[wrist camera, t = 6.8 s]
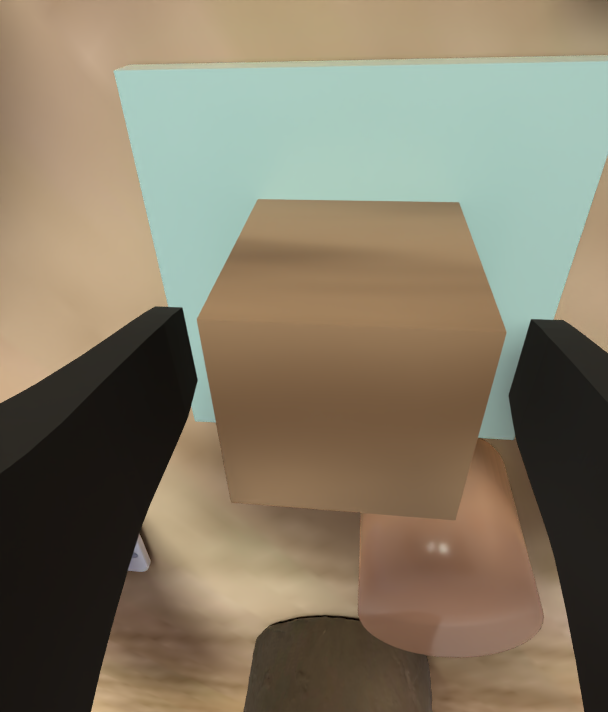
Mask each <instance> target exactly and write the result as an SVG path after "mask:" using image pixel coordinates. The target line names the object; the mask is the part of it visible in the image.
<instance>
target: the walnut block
mask: <svg viewBox="0 0 608 712" xmlns="http://www.w3.org/2000/svg"><path fill="white" fill-rule="evenodd" d="M197 325H198V330H199V335H200V340H201V346H202V351H203V356H204V362H205V367H206V372H207V378H208V383H209V388H210V394H211V399H212V404H213V409H214V415H215V420H216V425H217V431H218V436H219V441H220V447H221V452H222V457H223V463H224V468H225V473H226V478H227V484H228V489H229V494H230V500H231V502H232V503H244V504H257V505H269V506H282V507H294V508H307V509H319V510H332V511H344V512H357V513H369V514H382V515H394V516H407V517H419V518H432V519H444V520H456V516H457V513H458V509H459V505H460V502H461V498H462V494H463V491H464V487H465V483H466V480H467V476H468V472H469V469H470V465H471V461H472V458H473V454H474V450H475V447H476V443H477V439H478V436H479V432H480V428H481V425H482V421H483V417H484V414H485V410H486V406H487V403H488V399H489V395H490V392H491V388H492V384H493V381H494V377H495V373H496V370H497V366H498V363H499V359H500V355H501V352H502V348H503V344H504V341H505V337H506V333H507V332H506V329H505V326H504V323H503V321H502V318H501V315H500V312H499V310H498V307H497V304H496V302H495V299H494V296H493V293H492V291H491V288H490V285H489V282H488V280H487V277H486V274H485V272H484V269H483V266H482V263H481V261H480V258H479V255H478V252H477V250H476V247H475V244H474V242H473V239H472V236H471V233H470V231H469V228H468V225H467V222H466V220H465V217H464V214H463V212H462V209H461V206H460V203H459V202H413V201H349V200H284V199H258V200H257V202H256V204H255V205H254V207H253V209H252V211H251V213H250V215H249V217H248V219H247V221H246V223H245V225H244V227H243V229H242V231H241V233H240V235H239V237H238V239H237V241H236V243H235V245H234V247H233V249H232V251H231V253H230V255H229V257H228V259H227V261H226V262H225V264H224V266H223V268H222V270H221V272H220V274H219V276H218V278H217V280H216V282H215V284H214V286H213V288H212V290H211V292H210V294H209V296H208V298H207V300H206V302H205V304H204V306H203V308H202V310H201V312H200V314H199V316H198V318H197Z"/></svg>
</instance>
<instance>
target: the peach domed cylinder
mask: <svg viewBox="0 0 608 712" xmlns="http://www.w3.org/2000/svg"><path fill="white" fill-rule="evenodd" d="M358 616H359V619H360V621H361V623H362V625H363V626H364V627H365V628H366V630H367V631H368V632H370V633H371V634H372V635H373V636H375V637H376V638H378V639H379V640H381V641H383V642H385V643H387V644H389V645H391V646H394V647H396V648H399V649H402V650H406V651H409V652H413V653H418V654H423V655H429V656H437V657H476V656H484V655H490V654H495V653H500V652H503V651H506V650H510V649H512V648H515V647H517V646H519V645H521V644H523V643H525V642H527V641H528V640H530V639H531V638H532V637H533V636H534V635H536V634H537V632H538V631H539V630H540V628H541V626H542V624H543V619H544V615H543V610H542V606H541V602H540V598H539V594H538V591H537V587H536V583H535V579H534V575H533V572H532V568H531V564H530V560H529V556H528V553H527V549H526V545H525V541H524V537H523V533H522V530H521V526H520V522H519V518H518V514H517V511H516V507H515V503H514V499H513V495H512V492H511V488H510V484H509V480H508V476H507V473H506V469H505V465H504V462H503V460H502V457H501V456H500V454H499V453H498V451H497V450H496V449H495V448H494V447H493V446H492V445H490V444H489V443H488V442H486V441H485V440H483V439H481V438H478V439H477V443H476V447H475V450H474V454H473V458H472V461H471V465H470V469H469V472H468V476H467V480H466V483H465V487H464V491H463V494H462V498H461V502H460V505H459V509H458V513H457V516H456V520H444V519H432V518H419V517H407V516H394V515H382V514H369V513H361V514H360V552H359V590H358Z"/></svg>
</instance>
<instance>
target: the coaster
mask: <svg viewBox="0 0 608 712" xmlns="http://www.w3.org/2000/svg"><path fill="white" fill-rule="evenodd" d="M114 74H115V79H116V83H117V87H118V91H119V96H120V100H121V104H122V109H123V113H124V117H125V122H126V126H127V130H128V135H129V139H130V143H131V148H132V152H133V156H134V160H135V165H136V169H137V173H138V178H139V182H140V186H141V191H142V195H143V199H144V204H145V208H146V212H147V216H148V221H149V225H150V229H151V234H152V238H153V242H154V247H155V251H156V255H157V260H158V264H159V268H160V273H161V277H162V281H163V285H164V290H165V294H166V298H167V303H168V307H182V308H183V312H184V317H185V322H186V327H187V331H188V336H189V341H190V346H191V350H192V355H193V360H194V364H195V369H196V374H197V379H198V382H197V386H196V389H195V393H194V397H193V401H192V404H191V406H192V410H193V415H194V419H195V421H201V422H216V420H215V415H214V409H213V404H212V399H211V394H210V388H209V383H208V378H207V372H206V367H205V362H204V356H203V351H202V346H201V340H200V335H199V330H198V325H197V318H198V316H199V314H200V312H201V310H202V308H203V306H204V304H205V302H206V300H207V298H208V296H209V294H210V292H211V290H212V288H213V286H214V284H215V282H216V280H217V278H218V276H219V274H220V272H221V270H222V268H223V266H224V264H225V262H226V261H227V259H228V257H229V255H230V253H231V251H232V249H233V247H234V245H235V243H236V241H237V239H238V237H239V235H240V233H241V231H242V229H243V227H244V225H245V223H246V221H247V219H248V217H249V215H250V213H251V211H252V209H253V207H254V205H255V204H256V202H257V200H258V199H284V200H349V201H413V202H459V203H460V206H461V209H462V212H463V214H464V217H465V220H466V222H467V225H468V228H469V231H470V233H471V236H472V239H473V242H474V244H475V247H476V250H477V252H478V255H479V258H480V261H481V263H482V266H483V269H484V272H485V274H486V277H487V280H488V282H489V285H490V288H491V291H492V293H493V296H494V299H495V302H496V304H497V307H498V310H499V312H500V315H501V318H502V321H503V323H504V326H505V329H506V332H507V333H506V337H505V341H504V344H503V348H502V352H501V355H500V359H499V363H498V366H497V370H496V373H495V377H494V381H493V384H492V388H491V392H490V395H489V399H488V403H487V406H486V410H485V414H484V417H483V421H482V425H481V428H480V432H479V436H478V438H489V439H505V440H514V437H515V431H514V426H513V421H512V415H511V409H510V403H509V397H508V395H509V392H510V388H511V385H512V382H513V378H514V375H515V371H516V368H517V365H518V361H519V358H520V354H521V351H522V348H523V344H524V341H525V338H526V334H527V331H528V327H529V324H530V321H531V319H544V320H553V319H554V316H555V313H556V310H557V307H558V304H559V301H560V298H561V295H562V292H563V289H564V286H565V283H566V280H567V277H568V273H569V270H570V267H571V264H572V261H573V258H574V255H575V252H576V249H577V246H578V243H579V240H580V237H581V234H582V231H583V228H584V225H585V222H586V219H587V216H588V213H589V210H590V207H591V204H592V201H593V198H594V195H595V192H596V188H597V185H598V182H599V179H600V176H601V173H602V170H603V167H604V164H605V161H606V158H607V155H608V55H583V56H534V57H484V58H435V59H386V60H336V61H287V62H237V63H188V64H138V65H127V66H124V67H122V68H119V69H116V70H114Z"/></svg>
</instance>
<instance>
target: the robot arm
mask: <svg viewBox="0 0 608 712" xmlns="http://www.w3.org/2000/svg"><path fill="white" fill-rule="evenodd" d="M197 382H198V379H197V374H196V369H195V364H194V360H193V355H192V350H191V346H190V341H189V336H188V331H187V327H186V322H185V317H184V312H183V308H182V307H154V308H152V309H150V310H148V311H147V312H145V313H143V314H142V315H140V316H139V317H137V318H136V319H134V320H133V321H131V322H130V323H128V324H127V325H126V326H124V327H123V328H121V329H120V330H118V331H117V332H115V333H114V334H112V335H111V336H110V337H108V338H107V339H105V340H104V341H102V342H101V343H99V344H98V345H96V346H95V347H93V348H92V349H90V350H89V351H88V352H86V353H85V354H83V355H82V356H80V357H78V358H77V359H75V360H74V361H72V362H70V363H69V364H67V365H66V366H64V367H62V368H61V369H59V370H58V371H56V372H54V373H53V374H51V375H50V376H48V377H46V378H45V379H43V380H42V381H40V382H38V383H37V384H35V385H33V386H31V387H30V388H28V389H26V390H24V391H22V392H21V393H19V394H17V395H15V396H13V397H12V398H10V399H8V400H6V401H4V402H2V403H0V712H91V709H92V705H93V700H94V696H95V692H96V687H97V683H98V679H99V674H100V670H101V666H102V662H103V658H104V655H105V651H106V647H107V643H108V639H109V636H110V632H111V628H112V624H113V620H114V616H115V613H116V609H117V606H118V602H119V599H120V596H121V592H122V589H123V585H124V582H125V578H126V575H127V571H137V572H144V571H146V570H148V568H149V566H150V563H151V560H150V558H149V556H148V553H147V551H146V548H145V546H144V543H143V541H142V538H141V536H140V530H141V527H142V524H143V521H144V519H145V516H146V514H147V511H148V508H149V506H150V503H151V501H152V499H153V497H154V494H155V492H156V490H157V488H158V485H159V483H160V481H161V478H162V476H163V474H164V472H165V469H166V467H167V465H168V463H169V460H170V458H171V456H172V454H173V451H174V449H175V447H176V444H177V442H178V440H179V437H180V435H181V433H182V430H183V428H184V426H185V423H186V421H187V418H188V415H189V411H190V408H191V404H192V401H193V397H194V393H195V389H196V386H197ZM508 397H509V403H510V409H511V415H512V421H513V426H514V431H515V436H516V440H517V443H518V447H519V450H520V453H521V456H522V459H523V462H524V465H525V468H526V471H527V474H528V477H529V480H530V483H531V486H532V489H533V492H534V495H535V498H536V501H537V504H538V507H539V510H540V513H541V516H542V518H543V521H544V524H545V527H546V530H547V533H548V536H549V540H550V543H551V547H552V550H553V554H554V557H555V562H556V566H557V571H558V575H559V580H560V585H561V589H562V594H563V598H564V603H565V608H566V613H567V618H568V623H569V628H570V633H571V638H572V644H573V649H574V654H575V659H576V665H577V671H578V677H579V683H580V689H581V694H582V700H583V706H584V712H608V353H607V352H605V351H604V350H603V349H602V348H600V347H599V346H598V345H596V344H595V343H594V342H593V341H591V340H590V339H589V338H587V337H586V336H585V335H583V334H582V333H581V332H579V331H578V330H577V329H575V328H574V327H573V326H571V325H570V324H568V323H567V322H565V321H564V320H544V319H531V321H530V324H529V327H528V331H527V334H526V338H525V341H524V344H523V348H522V351H521V354H520V358H519V361H518V365H517V368H516V371H515V375H514V378H513V382H512V385H511V388H510V392H509V395H508Z"/></svg>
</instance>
